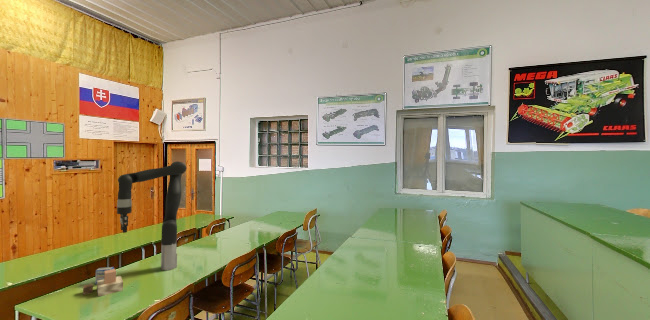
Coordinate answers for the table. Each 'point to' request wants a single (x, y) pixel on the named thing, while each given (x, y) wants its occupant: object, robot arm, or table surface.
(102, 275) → the medicine box
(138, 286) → the table surface
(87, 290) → the walnut block
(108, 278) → the terracotta block
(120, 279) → the birch block
